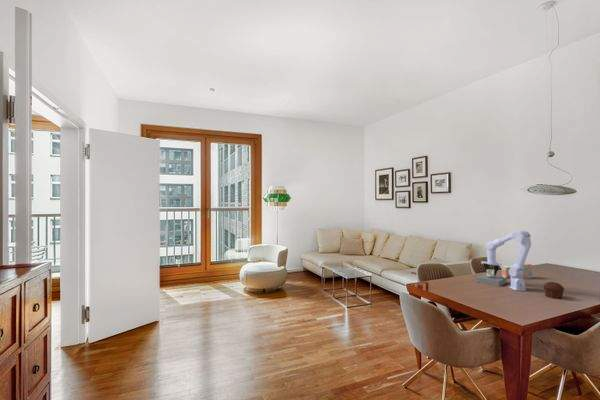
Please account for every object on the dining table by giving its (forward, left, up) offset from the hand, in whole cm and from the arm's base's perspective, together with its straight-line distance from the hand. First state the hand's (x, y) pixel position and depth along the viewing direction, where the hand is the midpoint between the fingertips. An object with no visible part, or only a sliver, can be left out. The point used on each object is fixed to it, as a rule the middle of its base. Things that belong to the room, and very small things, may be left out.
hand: (491, 273), depth 246 cm
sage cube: (0, 0, -2) cm, 2 cm away
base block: (0, 0, -7) cm, 7 cm away
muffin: (-34, -24, -7) cm, 42 cm away
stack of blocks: (+19, -29, -7) cm, 36 cm away
